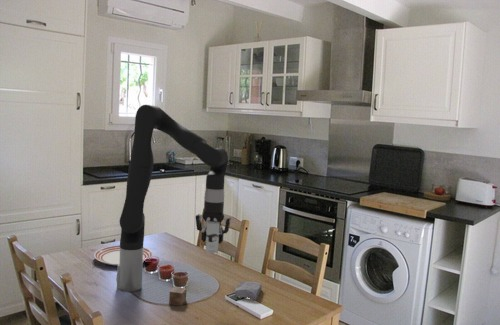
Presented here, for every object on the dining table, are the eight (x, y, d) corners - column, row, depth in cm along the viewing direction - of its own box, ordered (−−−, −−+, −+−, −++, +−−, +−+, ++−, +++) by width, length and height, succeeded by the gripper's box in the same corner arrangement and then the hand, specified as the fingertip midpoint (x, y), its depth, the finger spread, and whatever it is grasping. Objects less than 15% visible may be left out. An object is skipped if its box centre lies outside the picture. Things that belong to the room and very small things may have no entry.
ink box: (205, 246, 177) (207, 217, 175) (217, 246, 177) (219, 217, 176) (205, 253, 168) (206, 222, 167) (218, 253, 169) (219, 223, 167)
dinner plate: (164, 259, 219) (164, 252, 219) (121, 274, 196) (121, 267, 196) (126, 247, 234) (126, 241, 233) (81, 260, 211) (81, 253, 210)
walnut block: (169, 304, 169) (169, 291, 169) (173, 298, 174) (174, 286, 174) (181, 305, 168) (182, 293, 168) (185, 300, 173) (186, 288, 173)
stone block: (233, 302, 178) (258, 301, 176) (232, 290, 178) (256, 289, 176) (240, 292, 190) (263, 290, 188) (238, 281, 190) (261, 279, 188)
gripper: (234, 199, 173) (232, 241, 175) (199, 196, 176) (197, 237, 177) (230, 203, 166) (227, 247, 168) (193, 199, 168) (191, 242, 170)
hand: (212, 242), depth 172 cm, fingers closed on ink box, 5 cm apart
